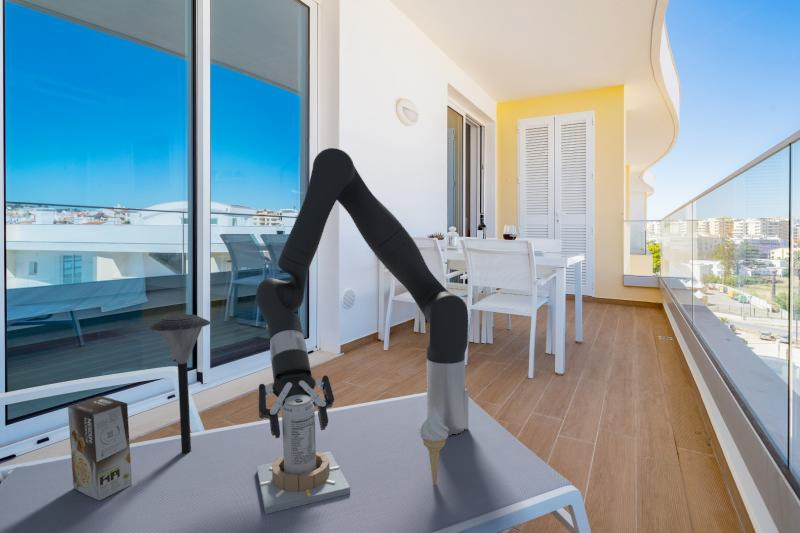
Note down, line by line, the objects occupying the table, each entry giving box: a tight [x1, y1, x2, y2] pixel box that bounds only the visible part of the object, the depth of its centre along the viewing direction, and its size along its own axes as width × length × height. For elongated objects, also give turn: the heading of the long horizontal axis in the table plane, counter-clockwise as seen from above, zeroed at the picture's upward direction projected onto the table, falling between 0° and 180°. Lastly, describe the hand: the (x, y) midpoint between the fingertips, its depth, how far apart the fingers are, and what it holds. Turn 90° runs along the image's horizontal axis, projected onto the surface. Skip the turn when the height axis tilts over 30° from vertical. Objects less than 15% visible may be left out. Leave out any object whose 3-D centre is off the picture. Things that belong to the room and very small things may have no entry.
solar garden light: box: [148, 313, 212, 454], centre depth 98 cm, size 12×12×30 cm
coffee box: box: [67, 395, 133, 501], centre depth 85 cm, size 9×6×16 cm
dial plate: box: [256, 450, 351, 515], centre depth 86 cm, size 15×15×4 cm
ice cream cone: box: [419, 408, 449, 485], centre depth 84 cm, size 6×6×15 cm
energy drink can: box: [281, 395, 317, 475], centre depth 85 cm, size 6×6×15 cm
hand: (301, 432), depth 84 cm, fingers open, 8 cm apart
